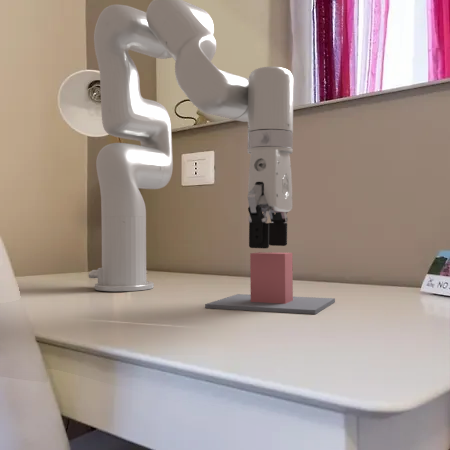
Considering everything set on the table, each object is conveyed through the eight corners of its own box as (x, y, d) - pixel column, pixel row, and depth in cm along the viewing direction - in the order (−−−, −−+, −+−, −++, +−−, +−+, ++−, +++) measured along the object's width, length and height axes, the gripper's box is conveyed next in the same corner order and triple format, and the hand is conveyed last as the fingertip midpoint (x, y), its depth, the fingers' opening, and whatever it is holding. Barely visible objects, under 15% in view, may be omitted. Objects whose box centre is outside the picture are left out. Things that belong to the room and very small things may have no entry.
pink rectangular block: (285, 303, 85) (284, 253, 85) (250, 301, 87) (250, 253, 87) (292, 300, 88) (292, 252, 88) (259, 298, 91) (258, 252, 91)
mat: (205, 307, 85) (205, 304, 85) (237, 297, 98) (237, 294, 98) (315, 314, 78) (315, 310, 78) (335, 301, 91) (334, 298, 91)
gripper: (275, 135, 79) (274, 250, 79) (305, 149, 95) (304, 245, 95) (229, 137, 82) (227, 248, 82) (265, 151, 98) (264, 244, 98)
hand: (268, 246), depth 88 cm, fingers open, 9 cm apart
